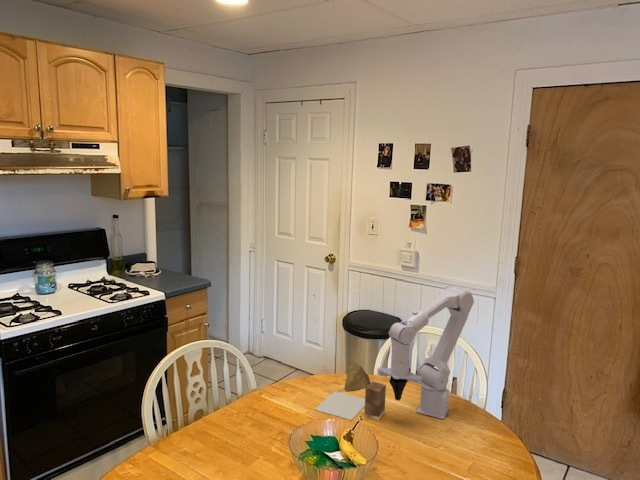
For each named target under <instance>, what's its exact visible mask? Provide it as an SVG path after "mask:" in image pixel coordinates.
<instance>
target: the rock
mask: <svg viewBox="0 0 640 480" xmlns="http://www.w3.org/2000/svg"><path fill="white" fill-rule="evenodd" d="M371 382H372V381H371V380H370V375H368V374H367V373H366V371H365V370H364V368H363V366H362V365H360V364H358V363H357V362H356V361H355V362H354V361H348V366H347V373H346V380H345V384H344V387H345V388H344V390H345V392H350V391H351V392H352V391H359V390H361V389H366V387H367V386H368V385H369V384H370V383H371Z"/></svg>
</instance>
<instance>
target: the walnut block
mask: <svg viewBox="0 0 640 480" xmlns="http://www.w3.org/2000/svg"><path fill="white" fill-rule="evenodd" d="M370 382H371V383H370V384H369V385H368V386H367V387H365V388H364V389H365V391H364V392H365V393H364V399H365V407H364V417H367V418H369V419H373V420H377V421H379V420H380V419H381V418H382V416H383V415H384V414H385V411H386V410H385V409H386V407H385V406H386V394H387V392H386V391H387V384H384V383H381V382H375V381H370Z"/></svg>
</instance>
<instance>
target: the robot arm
mask: <svg viewBox="0 0 640 480" xmlns="http://www.w3.org/2000/svg"><path fill="white" fill-rule="evenodd" d="M474 303H475V300H474V297H473V293H472V292H471V291H469V290H464V289H462V288H461V289H460V288H458V287H454V286H453V285H449V284H448V285H446V286H445V287H443V289H442V288H441V289H440V290H439V294H438V296H436V297H435V298H434V299H433V300H432V301H431V302H430V303H429V304H428V305H426V306H425V307H424V308H423V309H422V310H420V309H416V310H413V311H412V313H411V314H409V315H408V316H407V317H405V319H402V320H401V321H400V322H394V323H393V324H392V325H391V326H390V329H389V330H388V335H389V338H390V342H391V356H390V357H391V360H390V361H391V362H390V367H389V368H388V367H381V366H380V367H378V368H377V375H379V376H381V375H383V376H387V377H390V379H389V384H390V386H391V388H392V390H393V394H394V399H395V401H398V402H399V401H401V399H402V396H403V392H404V390H405V387H406V385H407V384H408V381H409V382H412V383H416V384H418V385H420V398H419V399H420V402H419V406H418V408H417V409H416V413H418V414H422V415H425V416H430V417H434V418H438V419H441V420H444V419H445V418H446V415H447V414H448V412H449V410H450V408H449V406H450V405H449V404H450V390H449V389H448V388H446V387H447V385H448V383H449V377H450V373H451V370H450V367H449V365H448V362H449V360H450V358H451V355H452V353H453V352H454V351H453V350H454V349H455V346H456V345H457V342H458V340H459V338H460V335H461V334H462V332H463V329H464V328H465V325H466V323H467V321H468V318H469V314H470V312H471V310H472V308H473V305H474ZM444 309H447V310H448V311H449V315H450V316H449V318H448V321H447V323H446V325H445V328H444V329H443V331H442V333H441V335H440V337H439V340H438V343H437V344H436V347H435V349H434V351H433V354H432V355H431V356H429V357H427V358H425V359H424V360H423V362H422V364H420V365H419V367H418V368H417V373H412V372H410V371H409V367H410V365H409V364H410V348H411V343H412V342H413V341H414V338H415V336H417V333H418V332H420V331H421V330H422V329H423V328H425V327H426V326H427V325H428V324H429V319H431V318H432V317H434V316H435V315H436V314H438V313H439V312H440V313H441V311H442V310H444Z"/></svg>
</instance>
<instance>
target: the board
mask: <svg viewBox="0 0 640 480" xmlns="http://www.w3.org/2000/svg"><path fill="white" fill-rule="evenodd" d="M363 409H365V398H362V397H359V396H355V395H350V394H347V393H343V392H340V391H336V390H335V391H333V392H332V393H331V394H330V395H329V396H328V397H327V398H325V399H324V400H323V401H322V402H321V403H320V404H319V405H317V406H316V407H315V408H314V409H313V410H314V411H315V412H320V413H323V414H327V415H330V416H333V417H337V418H341V419H344V420H347V419H353V420H354V419H355V418H356V416H358V414H359V413H360V412H361V411H362V410H363Z"/></svg>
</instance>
